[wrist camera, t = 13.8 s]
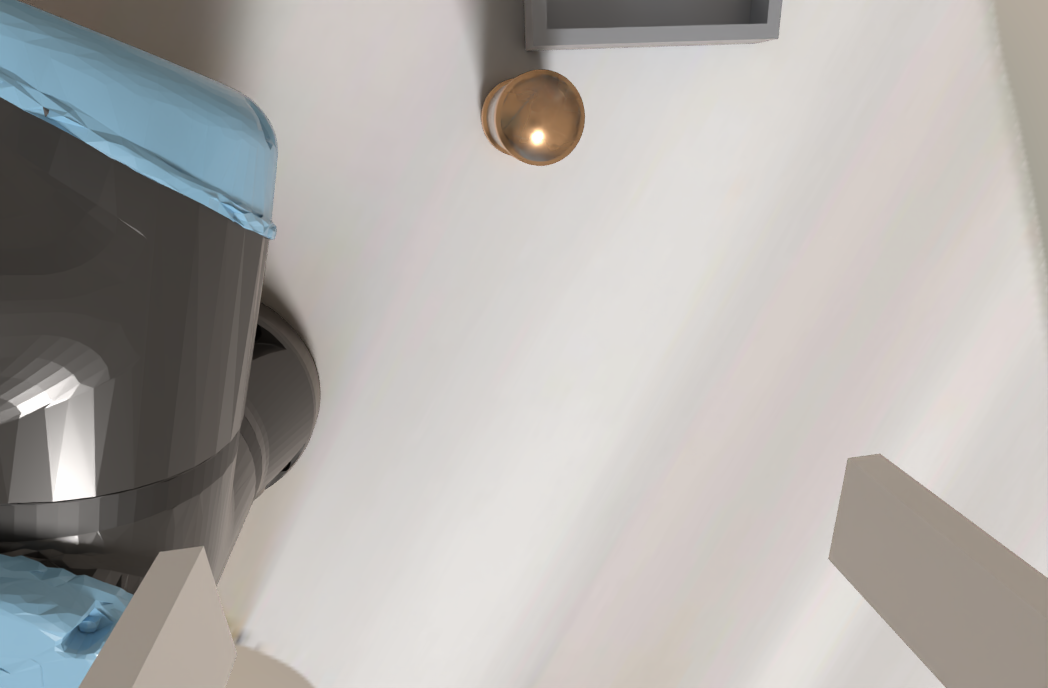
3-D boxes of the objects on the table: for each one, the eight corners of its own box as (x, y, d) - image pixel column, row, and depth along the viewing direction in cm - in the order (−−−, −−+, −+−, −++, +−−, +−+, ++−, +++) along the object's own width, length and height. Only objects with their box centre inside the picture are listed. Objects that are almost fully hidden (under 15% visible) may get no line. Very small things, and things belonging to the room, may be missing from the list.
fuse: (483, 157, 36) (499, 168, 29) (478, 80, 35) (493, 71, 27) (552, 153, 37) (584, 163, 30) (550, 77, 35) (584, 67, 28)
